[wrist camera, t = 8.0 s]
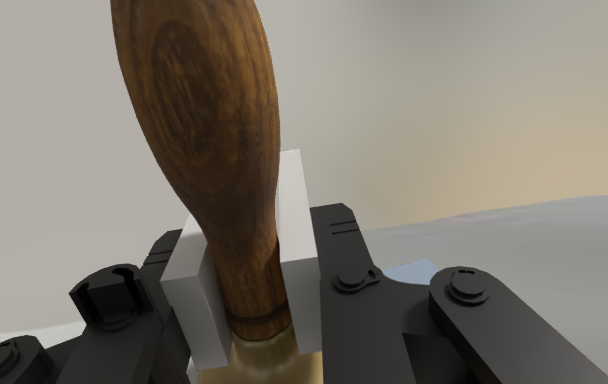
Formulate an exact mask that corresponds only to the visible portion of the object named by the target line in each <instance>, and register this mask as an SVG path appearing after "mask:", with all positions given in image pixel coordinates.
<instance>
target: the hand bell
mask: <svg viewBox="0 0 608 384" xmlns="http://www.w3.org/2000/svg"><path fill="white" fill-rule="evenodd" d="M110 3H111V15H112V24H113V32H114V38H115V44H116V49H117V55H118V61H119V64H120V68H121V71H122V75H123V78H124V81H125V85H126V87H127V90H128V93H129V96H130V99H131V102H132V105H133V108H134V111H135V114H136V117H137V119H138V122H139V124H140V126H141V129H142V131H143V133H144V136H145V138H146V140H147V142H148V144H149V147H150V148H151V150H152V152H153V155H154V157H155V159H156V161H157V163H158V165H159V166H160V168H161V170H162V172H163V173H164V175H165V177H166V179H167V180H168V182H169V183H170V185H171V186H172V188H173V190H174V191H175V193H176V194H177V196H178V197H179V198H180V199H181V201H182V202H183V203H184V205H185V206H186V207H187V209H188V210H189V211H190V213H191V214H192V216H193V217H194V218H195V220H196V221H197V223H198V225H199V226H200V228H201V230H202V232H203V234H204V236H205V238H206V240H207V243H208V245H209V248H210V251H211V254H212V258H213V261H214V265H215V270H216V274H217V278H218V282H219V286H220V290H221V295H222V298H223V301H224V304H225V306H226V316H227V320H228V323H229V326H230V328H231V334H232V338H233V342H232V349H231V356H230V363H229V366H224V367H218V368H212V369H205V370H201V371H200V375H199V379H198V384H323V364H322V351H320V352H314V353H307V354H301V355H300V354H299V350H298V345H297V340H296V335H295V331H294V326H293V321H292V316H291V312H290V307H289V302H288V298H287V293H286V288H285V283H284V279H283V274H282V269H281V264H280V244H279V241H278V236H277V230H276V222H275V195H276V187H277V180H278V173H279V163H280V120H279V108H278V96H277V91H276V84H275V78H274V71H273V65H272V59H271V55H270V51H269V46H268V41H267V37H266V34H265V31H264V28H263V25H262V22H261V19H260V15H259V13H258V10H257V8H256V5H255V2H254V0H110Z"/></svg>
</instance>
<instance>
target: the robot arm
mask: <svg viewBox="0 0 608 384" xmlns="http://www.w3.org/2000/svg"><path fill="white" fill-rule="evenodd" d="M279 199H280V200H279V203H280V204H279V205H280V206H279V209H280V210H279V211H280V264H281V269H282V274H283V279H284V283H285V288H286V293H287V298H288V302H289V307H290V312H291V316H292V321H293V326H294V331H295V335H296V340H297V345H298V350H299V354H300V355H301V354H307V353H314V352H320V351H322V364H323V384H608V376H607V375H606V374H605V373H604V372H603V371H602V370H600V369H599V368H598V367H597V366H596V365H595V364H594V363H592V362H591V361H590V360H589V359H588V358H587V357H586V356H585V355H583V354H582V353H581V352H580V351H579V350H578V349H577V348H576V347H574V346H573V345H572V344H571V343H570V342H569V341H568V340H566V339H565V338H564V337H563V336H562V335H561V334H560V333H559V332H557V331H556V330H555V329H554V328H553V327H552V326H551V325H549V324H548V323H547V322H546V321H545V320H544V319H543V318H542V317H540V316H539V315H538V314H537V313H536V312H535V311H534V310H533V309H531V308H530V307H529V306H528V305H527V304H526V303H525V302H523V301H522V300H521V299H520V298H519V297H518V296H517V295H516V294H514V293H513V292H512V291H511V290H510V289H509V288H508V287H507V286H505V285H504V284H503V283H502V282H501V281H500V280H498V279H497V278H495V277H494V276H492V275H490V274H489V273H487V272H484V271H481V270H478V269H475V268H470V267H461V266H458V267H450V268H445V269H443V270H441V271H439V272H437V273H435V275H434V276H433V277H432V278H431V280H430V285H424V284H412V283H405V282H399V281H396V280H393V279H390V278H388V277H387V276H385V275H384V274H383V272H382V271H381V269H379V268H378V267H376V266H375V265H374V264H373V262H372V259H371V257H370V254H369V252H368V249H367V247H366V244H365V242H364V239H363V236H362V234H361V231H360V230H359V227H358V224H357V222H356V219H355V216H354V214H353V211H352V210H351V209H350V208H348V207H347V206H345V205H344V204H343V203H338V204H331V205H326V206H319V207H312V208H309V204H308V198H307V192H306V186H305V181H304V175H303V169H302V163H301V158H300V152H299V149H295V150H288V151H282V152H280V163H279ZM69 295H70V296H71V299H72V300H73V302H74V303H75V305H76V307H77V309H78V310H79V312H80V314H81V316H82V317H83V319H84V321H85V322H86V324H87V325H86V327H85V329H84V331H83V333H82V335H80V336H78V337H76V338H73V339H70V340H68V341H65V342H63V343H60V344H57V345H55V346H52V347H50V348H47V349H44V348H43V346H42V345H41V343H40V342H39V340H38V339H37V338H36V337H34V336H29V335H24V336H19V337H13V338H11V339H9V340H6V341H4V342H1V343H0V384H191V383H190V381H189V378H188V376H187V374H186V371H187V367H188V363H189V359H190V355H191V357H192V360H193V362H194V364H195V367H196V369H197V371H199V370H205V369H212V368H218V367H224V366H229V363H230V356H231V349H232V342H233V338H232V334H231V328H230V326H229V323H228V320H227V316H226V306H225V304H224V301H223V298H222V295H221V290H220V286H219V282H218V278H217V274H216V270H215V265H214V261H213V258H212V254H211V251H210V248H209V245H208V243H207V240H206V238H205V236H204V234H203V232H202V230H201V228H200V226H199V225H198V223H197V221H196V220H195V218H194V217H193V216H192V214H191V213H190V215H189V218H188V220H187V222H186V225H185V226H184V229H179V230H172V231H167V232H166V233H165V234H164V235H163V236H162V237H161V238H159V239H158V240H157V241H156V242H155V243H154V245H153V247H152V249H151V251H150V252H149V256H147V258H146V259H145V261H144V263H143V266H142V267H141V268H140V269H139V268H138V267H137V266H136V265H131V264H117V265H113V266H110V267H107V268H103V269H101V270H99V271H97V272H95V273H93V274H91V275H89V276H88V277H86V278H85V279H83V280H82V281H80V282H79V283H78V284H77V285H76V286H75V287H74V288H73V289H72V290H71V291H70V292H69Z"/></svg>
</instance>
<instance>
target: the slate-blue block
mask: <svg viewBox="0 0 608 384" xmlns="http://www.w3.org/2000/svg"><path fill="white" fill-rule="evenodd" d="M382 272H383V274H384V275H385V276H387V277H388V278H390V279H393V280H396V281H399V282H405V283H412V284H424V285H430V280H431V278H432V277H433V276H434V275H435V273H437V272H439V270H438V269H437V268H436V267H435V266H434V265H433V264H432V263H431V262H430V261H429V260H428V259H427V258H426V259H423V260H419V261H416V262H412V263H408V264H405V265H401V266H398V267H394V268H391V269H387V270H384V271H382Z"/></svg>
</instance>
